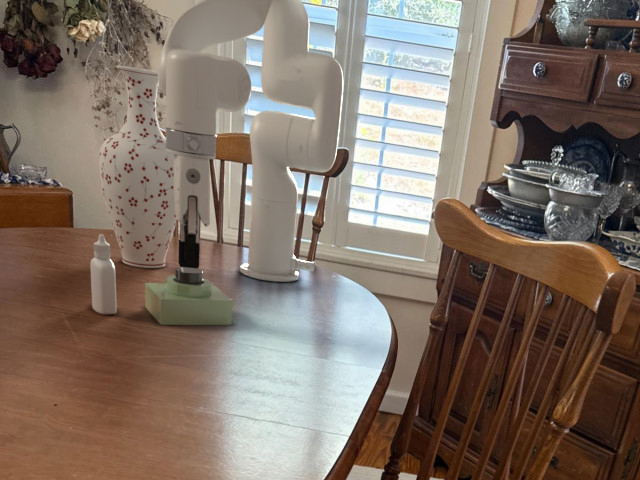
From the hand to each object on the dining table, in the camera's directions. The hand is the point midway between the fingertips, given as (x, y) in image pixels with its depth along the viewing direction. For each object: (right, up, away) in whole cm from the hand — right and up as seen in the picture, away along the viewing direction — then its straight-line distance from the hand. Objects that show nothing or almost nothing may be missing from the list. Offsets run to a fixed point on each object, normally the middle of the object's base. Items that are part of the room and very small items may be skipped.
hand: (188, 266), depth 128 cm
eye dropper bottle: (-14, -8, 0) cm, 16 cm away
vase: (-18, +12, +32) cm, 39 cm away
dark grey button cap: (0, -2, +1) cm, 3 cm away
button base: (-1, -7, +4) cm, 8 cm away
